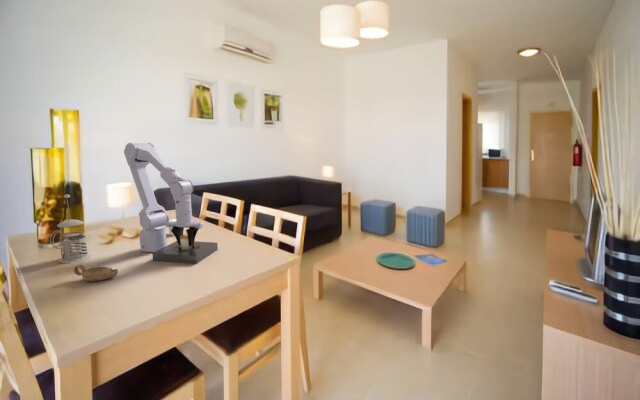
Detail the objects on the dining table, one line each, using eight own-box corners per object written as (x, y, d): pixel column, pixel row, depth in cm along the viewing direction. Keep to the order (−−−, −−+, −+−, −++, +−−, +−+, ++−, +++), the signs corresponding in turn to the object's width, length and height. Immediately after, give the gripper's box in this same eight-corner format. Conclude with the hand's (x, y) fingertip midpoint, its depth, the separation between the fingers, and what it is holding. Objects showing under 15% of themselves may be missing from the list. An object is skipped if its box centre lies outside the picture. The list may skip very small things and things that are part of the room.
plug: (178, 251, 124) (177, 236, 123) (185, 248, 128) (184, 233, 127) (188, 252, 123) (186, 237, 122) (194, 248, 127) (193, 234, 126)
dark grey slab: (153, 260, 119) (152, 253, 119) (178, 247, 135) (177, 240, 134) (196, 263, 117) (196, 255, 116) (217, 249, 132) (217, 242, 132)
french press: (96, 256, 124) (88, 193, 119) (62, 266, 113) (52, 198, 109) (82, 252, 128) (73, 191, 124) (47, 262, 118) (37, 196, 113)
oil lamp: (123, 274, 107) (122, 260, 106) (109, 284, 100) (107, 269, 99) (84, 274, 107) (83, 260, 106) (67, 284, 100) (65, 269, 99)
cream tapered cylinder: (187, 232, 157) (186, 219, 155) (176, 236, 150) (175, 222, 149) (176, 231, 159) (174, 218, 158) (165, 235, 153) (164, 221, 151)
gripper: (160, 213, 120) (163, 247, 122) (195, 214, 118) (197, 249, 120) (171, 209, 127) (174, 241, 129) (205, 210, 124) (207, 243, 127)
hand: (186, 245), depth 125 cm, fingers closed on plug, 4 cm apart
